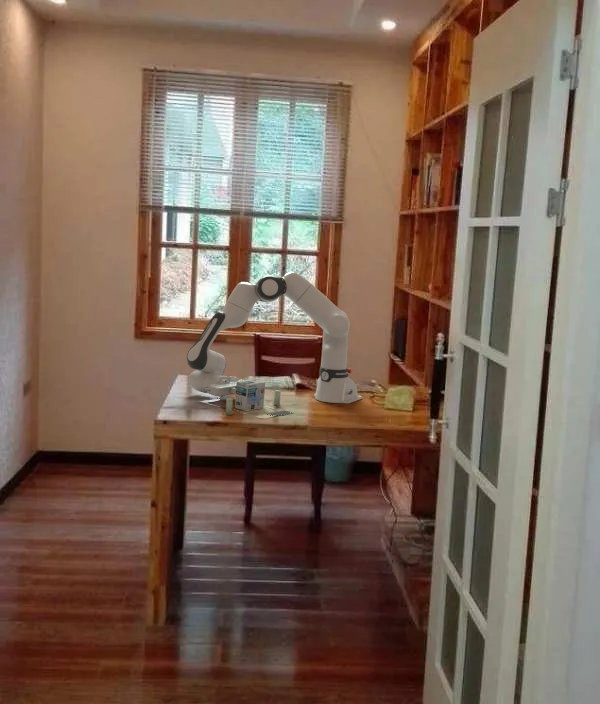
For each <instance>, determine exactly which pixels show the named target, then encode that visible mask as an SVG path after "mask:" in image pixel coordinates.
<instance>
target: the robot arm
mask: <svg viewBox="0 0 600 704" xmlns="http://www.w3.org/2000/svg"><path fill="white" fill-rule="evenodd" d="M281 296H284V297H287V298H288V299H289V300H290V301H291V302H293V303H294V304H295V305H296V306H297V307H298V308H299V309H300V310H302V311H303V312H304V313H305V314H306V315H307V316H308V317H309V318H310V319H311V320H312V321H313V322H315V323H316V324H317V325H318V326H319V327H320V328H321V329H322V345H321V347H322V349H321V363H320V364H321V365H320V367H319V377H318V379H317V384H316V389H315V390H316V391H315V393H314V394H313V397H314V399H315V400H317V401H320V402H323V403H332V404H351V403H354V402H357V401H359V400H362V399H363V396H362V395H360V394H358V386H357V384H356V383H355V381H353V380H352V379H351V378H350V377H349V374H352V373H353V369H352V368H347V367H348V366H347V365H348V351H349V331H350V330H351V329H350V328H351V321H350V318H349V316H348V314H347V313H346V312H345V311H344V310H341V309H340V308H339V307H338V306H337V305H335V304H334V303H333V301H331V300H330V298H328V297H327V296H326V295H325V294H324V293H323V292H321V291H320V290H319V289H318V288H317V287H316V286H314V284H312V283H311V282H310V281H309V280H308V279H307V278H305V277H303V276H302V275H300V274H299V273H297V272H295V271H288V272H287V273H285V274H284V275H283V276H277V275H273V274H272V275H271V274H269V275H268V274H267V275H264V276H262V277H260V278H259V279H258V280H257V282H255V283H250V282H247V281H240V282H239V283H237V285H236V286H235V287H234V289H233V290H232V291H231V293H230V295H229V296H228V298H227V301H226V302H225V304H224V306H223V307H222V309H220V310H219V311H218V312H216V313H214V314H213V316H212V317H211V319H210V320H209V321H208V323H207V325H206V326H205V328H204V329H203V331H202V332H201V334H200V336H199V337H198V338H197V340H196V342H195V343H194V344H193V345H192V346H191V347H190V348H189V350H188V352H187V355H186V361H187V365H188V366H189V367H190V368H191V369H192V370H193V369H194V370H193V371H191V373H190V374H189V376H188V383H189V385H190V387H191V388H192V389H194V390H195V391H198V392H200V393H203V394H209V395H211V396H213V397H217V398H218V397H224V396H230V395H236V385H237V382H240V381H246V380H245V379H241V378H238V377H237V376H235V375H234V376H231V375H230V376H228V375H224V373H225V371H226V368H227V359H226V357H225V356H224V354H222V353H220V352H217V351H214V350H212V349H210V347H211V346H212V344H213V342H214V341H215V340H216V338H217V336H218V334H219V333H220V332H221V331H223V330H225V329H235V328H239V327H241V326H243V325H244V324H245V323H247V321H248V319H249V316H250V315H251V313H252V311H253V308H254V306H255V305H256V304H257V302H262V303H263V302H264V303H272V302H274V301H277V299H279V298H280V297H281Z"/></svg>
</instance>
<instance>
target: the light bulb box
mask: <svg viewBox="0 0 600 704" xmlns="http://www.w3.org/2000/svg"><path fill="white" fill-rule="evenodd" d="M265 392H266V381H262V380H257V379H253V378H252V379H247V380H245V381H240V382H237V385H236V394H235V398H236V400H235V399H234V401H235V403H234V408H235V409H238V410H242V411H246V412H250V411H254V410H259V409H264V407H263V406H264V404H265Z"/></svg>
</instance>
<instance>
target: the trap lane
mask: <svg viewBox="0 0 600 704" xmlns="http://www.w3.org/2000/svg"><path fill="white" fill-rule="evenodd" d="M281 392H282V391H281V390H276V389H275V390H274V398H273V399H274V401H273V405H274V406H276V407H277V406H278V407H279V406H280V405H281ZM216 398H217V399H218V397H216ZM219 399H220V401H219V402H221V400H223V401H226V403H225V407H226V409H225V415H226V414H227V416H232V415H233V411H232V409H233V404H234V403H233V401H235V400H236V397H233V396H230V395H225V396H223V397H220V398H219ZM266 407H267V409H271V410H276V407H273V406H269V405H264V406H263V408H266ZM290 412H291V414H293V413H292V412H293V411H288V410H279V411H275V412H270V414H271V415H272V416H273V415H276V416H277V415H278V416H277V417H281V414H282V416H285V415H286V414H287V415H290V414H289V413H290ZM272 413H273V414H272ZM231 414H232V415H231ZM266 414H267V415H268V414H269V413H266ZM284 414H285V415H284ZM271 415H270V416H271ZM279 415H280V416H279Z"/></svg>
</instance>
